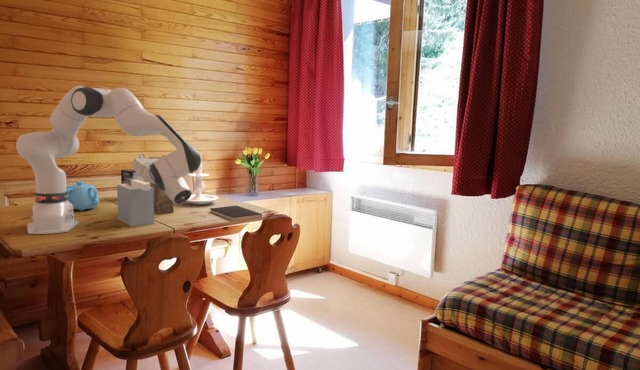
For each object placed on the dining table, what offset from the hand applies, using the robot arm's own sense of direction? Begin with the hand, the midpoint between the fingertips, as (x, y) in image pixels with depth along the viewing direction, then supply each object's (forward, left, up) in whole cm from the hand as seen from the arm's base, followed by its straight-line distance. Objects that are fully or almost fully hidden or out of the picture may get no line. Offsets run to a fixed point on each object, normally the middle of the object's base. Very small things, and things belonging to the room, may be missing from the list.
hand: (152, 156), depth 191 cm
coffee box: (+72, +9, -31) cm, 79 cm away
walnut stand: (+37, -5, -31) cm, 48 cm away
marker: (+13, +6, -15) cm, 20 cm away
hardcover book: (+22, -38, -31) cm, 54 cm away
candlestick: (+55, -23, -31) cm, 67 cm away
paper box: (+16, +7, -31) cm, 35 cm away
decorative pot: (+50, +32, -31) cm, 67 cm away
